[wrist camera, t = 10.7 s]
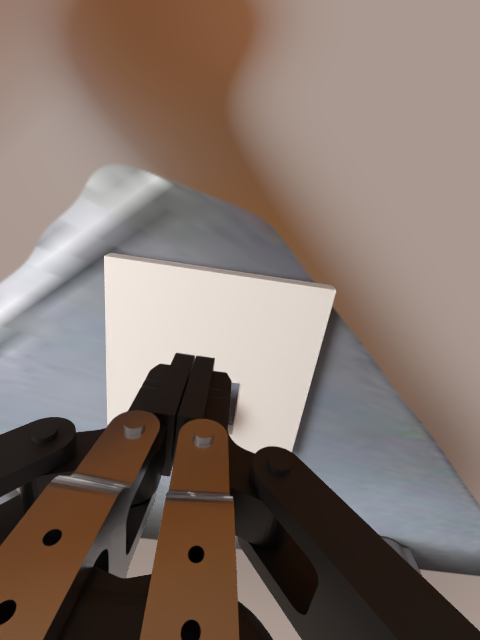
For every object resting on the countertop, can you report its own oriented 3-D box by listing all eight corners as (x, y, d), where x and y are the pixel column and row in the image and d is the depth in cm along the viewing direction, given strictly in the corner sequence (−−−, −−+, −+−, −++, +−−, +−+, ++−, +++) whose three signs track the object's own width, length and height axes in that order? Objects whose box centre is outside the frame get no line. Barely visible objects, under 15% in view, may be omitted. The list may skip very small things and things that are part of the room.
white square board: (332, 285, 29) (336, 290, 27) (287, 450, 36) (289, 461, 35) (111, 252, 28) (104, 255, 26) (113, 428, 35) (107, 438, 34)
